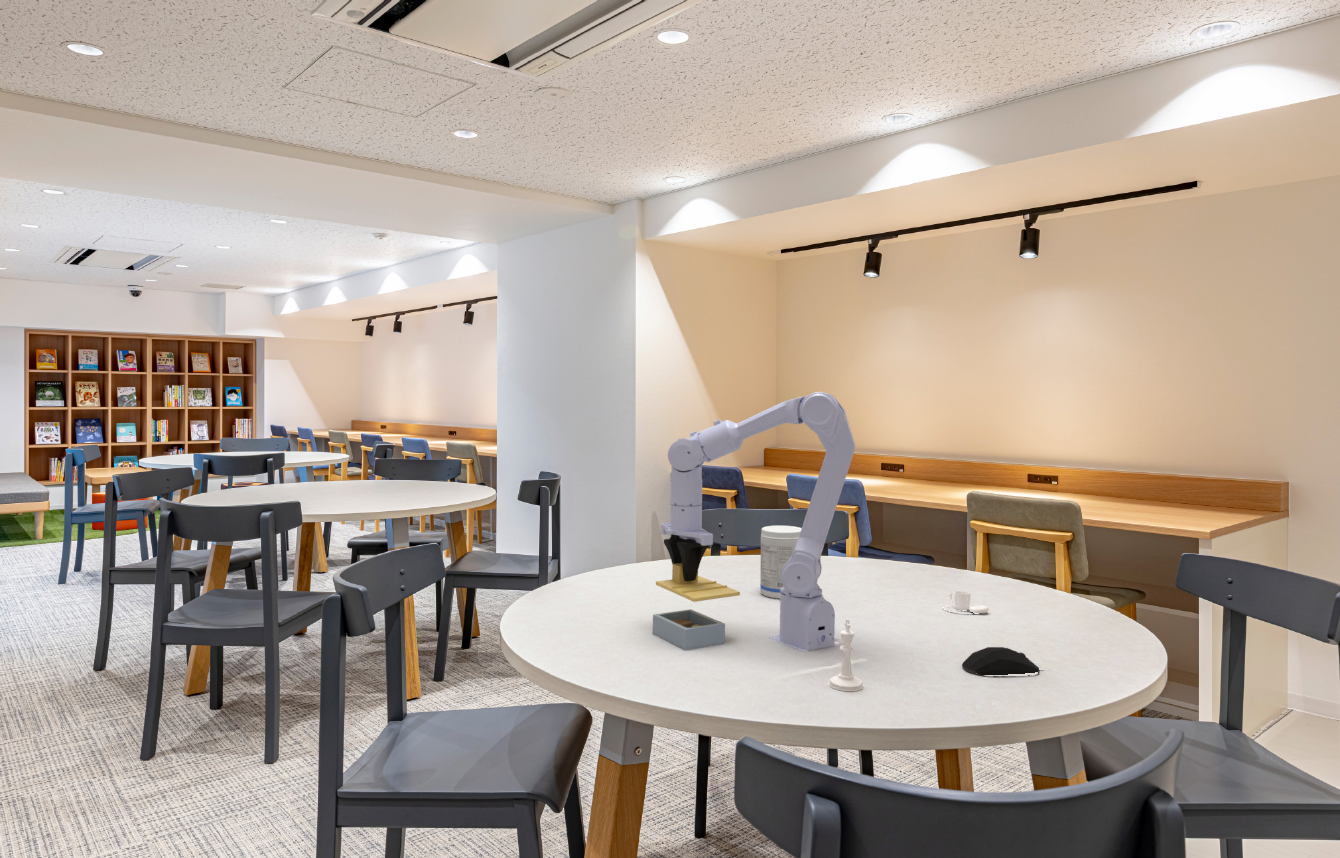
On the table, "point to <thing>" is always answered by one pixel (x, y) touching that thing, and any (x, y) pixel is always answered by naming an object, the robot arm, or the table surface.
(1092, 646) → the table surface
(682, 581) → the lid
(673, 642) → the parts tub
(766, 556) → the supplement tub
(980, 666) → the gaming mouse
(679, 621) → the walnut block
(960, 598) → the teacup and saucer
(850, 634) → the chess piece
